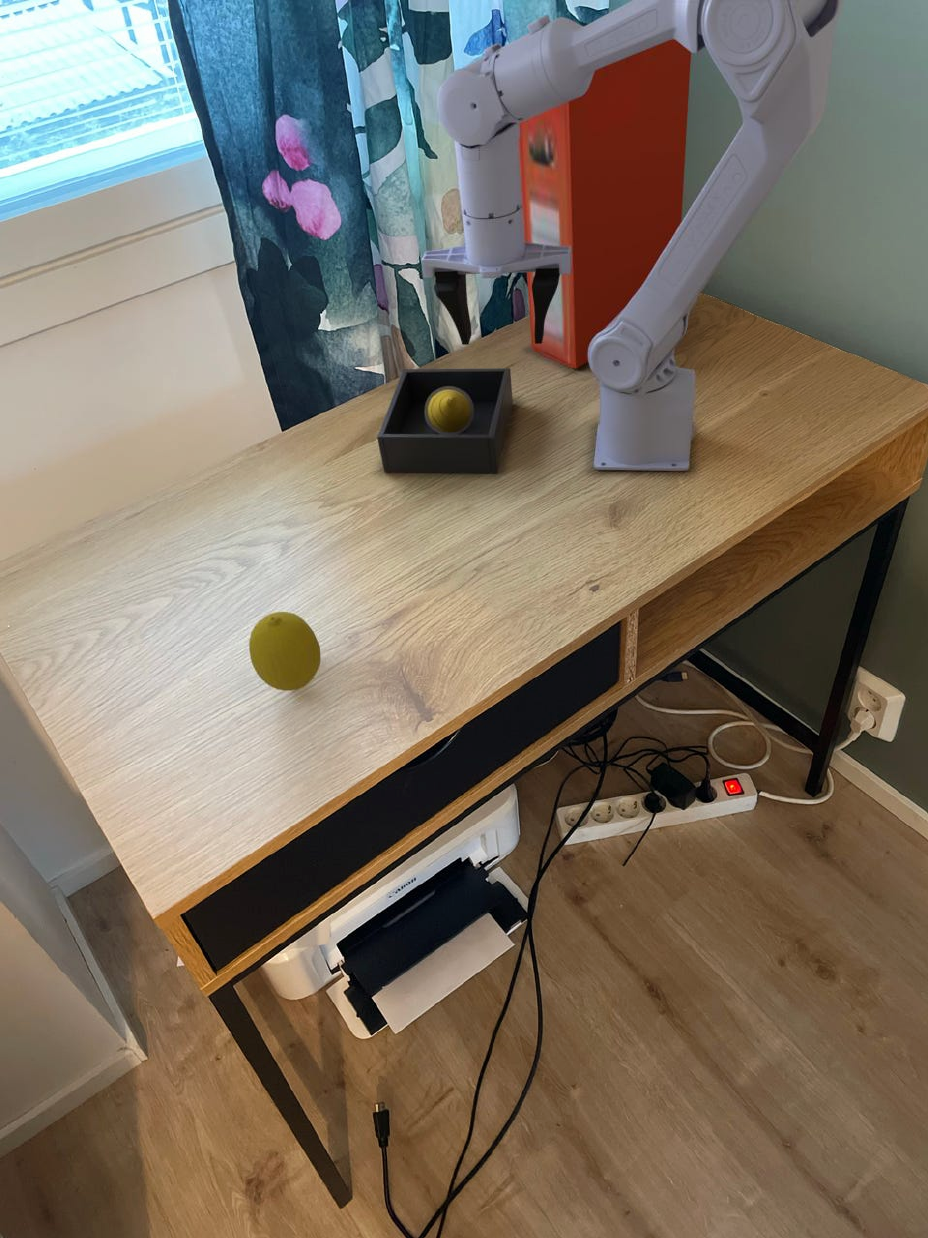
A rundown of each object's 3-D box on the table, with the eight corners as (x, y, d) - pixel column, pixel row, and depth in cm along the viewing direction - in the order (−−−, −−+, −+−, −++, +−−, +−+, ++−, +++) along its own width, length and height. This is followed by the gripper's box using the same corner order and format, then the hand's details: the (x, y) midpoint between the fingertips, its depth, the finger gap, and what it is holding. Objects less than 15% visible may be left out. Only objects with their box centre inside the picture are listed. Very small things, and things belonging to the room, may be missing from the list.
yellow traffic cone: (481, 417, 101) (488, 398, 91) (448, 451, 101) (451, 436, 91) (447, 383, 100) (450, 360, 90) (414, 417, 100) (413, 398, 90)
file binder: (530, 348, 110) (512, 49, 87) (628, 295, 117) (635, 5, 94) (576, 370, 105) (569, 61, 83) (676, 315, 112) (695, 14, 89)
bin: (512, 403, 102) (510, 367, 99) (497, 473, 93) (493, 437, 90) (409, 403, 104) (403, 368, 101) (384, 472, 95) (376, 437, 92)
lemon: (267, 663, 78) (241, 598, 72) (330, 655, 78) (309, 589, 72) (262, 713, 74) (234, 648, 68) (328, 704, 74) (306, 639, 68)
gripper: (408, 227, 83) (428, 360, 92) (566, 221, 80) (569, 358, 90) (423, 196, 87) (440, 325, 97) (572, 189, 85) (574, 323, 94)
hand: (502, 339), depth 94 cm, fingers open, 7 cm apart
